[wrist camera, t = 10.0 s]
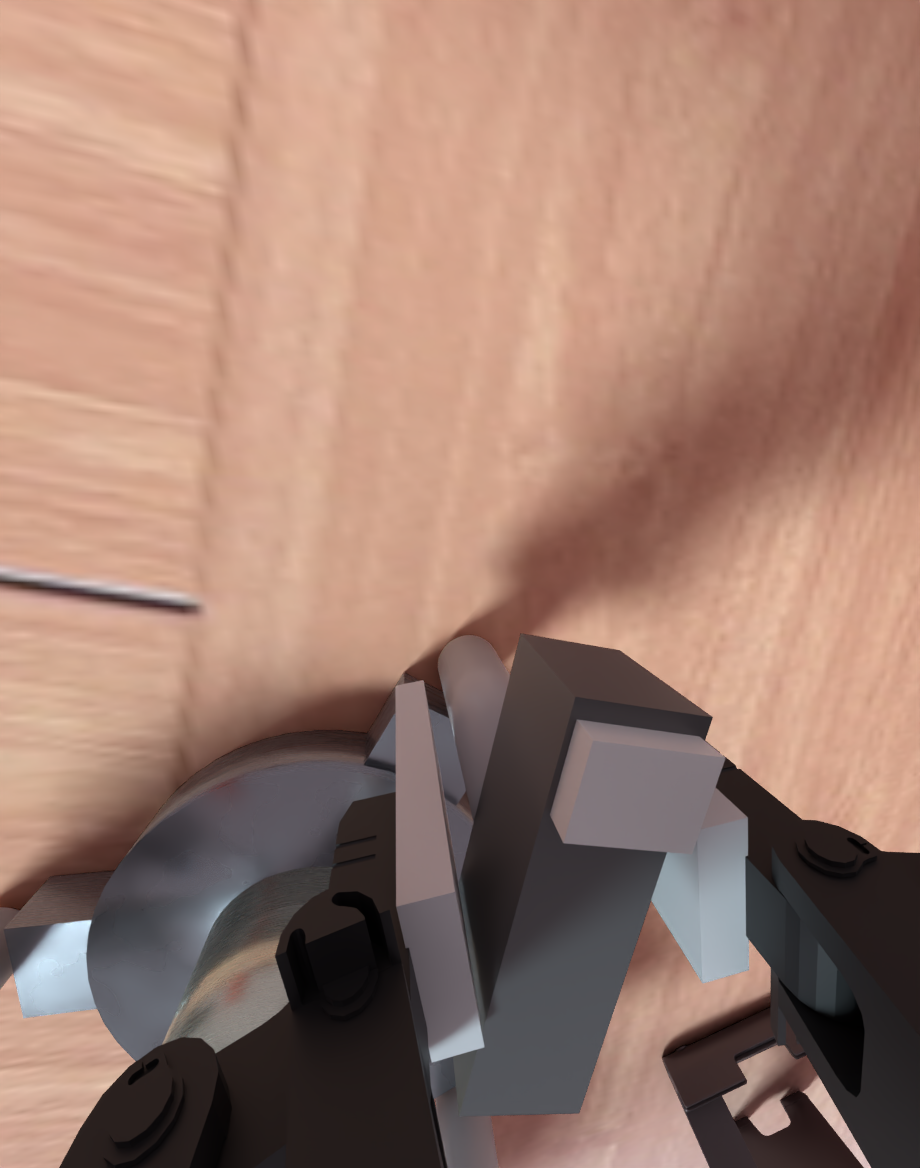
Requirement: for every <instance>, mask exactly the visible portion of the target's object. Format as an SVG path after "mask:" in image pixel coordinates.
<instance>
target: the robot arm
mask: <svg viewBox="0 0 920 1168" xmlns="http://www.w3.org/2000/svg"><path fill="white" fill-rule="evenodd" d="M395 697H396V792H392V793H388V794H384V795H379V796H375V797H370V798H366V799H362V800H357V801H353V802H352V804H351V805H350V807H349V808H348V810H347V811H346V813H345V814H344V816H343V818H342V819H341V821H340V822H339V828H338V834H337V840H336V849H335V852H334V858H333V869H332V870H331V876H330V882H329V888H328V889H327V890H325V891H323V892H321V893H320V894H318V895H316V896H314V897H312V898H311V899H310V900H309V901H308V902H307V903H306V904H305V905H303V906H302V907H301V908H300V909H299V910H298V911H297V912H296V913H295V914H294V915H293V917H292V918H291V920H290V921H289V923H288V924H287V926H286V927H285V929H284V930H283V932H282V933H281V936H280V939H279V943H278V947H277V950H276V954H275V959H276V962H277V965H278V968H279V971H280V975H281V978H282V981H283V984H284V987H285V991H286V994H287V997H288V1000H289V1002H288V1003H287V1004H286V1005H285V1006H284V1007H283V1008H282V1009H281V1010H280V1011H279V1012H278V1013H277V1014H276V1015H274V1016H273V1017H272V1018H270V1019H269V1020H268V1021H266V1022H265V1023H264V1024H262V1025H261V1026H259V1027H257V1028H256V1029H254V1030H253V1031H251V1032H249V1033H248V1034H246V1035H245V1036H243V1037H241V1038H240V1039H238V1040H236V1041H235V1042H233V1043H232V1044H230V1045H228V1046H227V1047H225V1048H224V1049H222V1050H220V1051H219V1052H217V1053H215V1051H214V1049H213V1048H212V1047H211V1046H209V1045H208V1044H207V1043H206V1042H205V1041H204V1040H203V1039H202V1038H188V1037H180V1038H178V1039H175V1040H173V1041H170V1042H168V1043H165V1044H163V1045H160V1046H157V1047H156V1048H154V1049H153V1050H151V1051H150V1052H149V1053H147V1054H146V1055H145V1056H143V1057H142V1058H140V1059H139V1060H138V1061H136V1062H135V1063H134V1064H132V1065H131V1066H129V1067H128V1069H127V1070H126V1071H125V1072H124V1073H123V1074H122V1075H121V1076H120V1077H119V1078H118V1079H117V1080H116V1081H115V1082H114V1083H113V1084H112V1085H111V1086H110V1088H109V1089H108V1090H107V1091H106V1092H105V1093H104V1094H103V1095H102V1097H101V1098H100V1100H99V1101H98V1103H97V1104H96V1106H95V1107H94V1109H93V1110H92V1112H91V1113H90V1115H89V1116H88V1118H87V1119H86V1121H85V1122H84V1124H83V1125H82V1127H81V1128H80V1130H79V1132H78V1134H77V1136H76V1138H75V1139H74V1141H73V1143H72V1145H71V1147H70V1149H69V1151H68V1153H67V1154H66V1156H65V1158H64V1160H63V1162H62V1164H61V1166H60V1167H59V1168H448V1166H447V1161H446V1156H445V1151H444V1146H443V1141H442V1136H441V1131H440V1126H439V1121H438V1116H437V1111H436V1107H435V1102H434V1098H433V1094H432V1089H431V1082H430V1065H429V1052H430V1057H431V1061H432V1062H436V1061H439V1060H442V1059H446V1058H449V1057H453V1056H456V1055H460V1054H463V1053H466V1052H470V1051H473V1050H477V1049H480V1048H484V1041H483V1035H482V1029H481V1022H480V1016H479V1010H478V1004H477V997H476V991H475V985H474V979H473V972H472V966H471V960H470V954H469V947H468V941H467V935H466V929H465V922H464V916H463V910H462V904H461V898H460V891H459V885H458V879H457V873H456V866H455V860H454V854H453V848H452V841H451V835H450V829H449V823H448V816H447V810H446V804H445V798H444V791H443V785H442V779H441V773H440V767H439V761H438V756H437V751H436V745H435V740H434V734H433V729H432V724H431V718H430V713H429V707H428V702H427V697H426V691H425V686H424V680H421V681H417V682H412V683H407V684H402V685H397V686H395ZM707 743H708V742H707ZM708 744H709V743H708ZM709 745H710V744H709ZM712 747H713V746H712ZM713 748H714V747H713ZM714 749H715V748H714ZM715 750H716V749H715ZM718 752H719V751H718ZM719 753H720V752H719ZM723 756H724V755H723ZM724 757H725V756H724ZM651 901H652V903H653V904H654V906H655V908H656V909H657V911H658V912H659V914H660V916H661V917H662V919H663V920H664V922H665V924H666V925H667V927H668V928H669V930H670V932H671V933H672V935H673V937H674V938H675V940H676V941H677V943H678V945H679V946H680V948H681V949H682V951H683V953H684V954H685V956H686V958H687V959H688V961H689V962H690V964H691V966H692V967H693V969H694V970H695V972H696V974H697V975H698V977H699V978H700V980H701V982H702V983H706V982H709V981H713V980H716V979H720V978H723V977H727V976H730V975H734V974H737V973H740V972H744V971H747V970H749V940H750V941H751V943H752V944H753V945H754V946H755V948H756V949H757V950H758V952H759V953H760V954H761V955H762V957H763V958H764V959H765V961H766V962H767V963H768V964H769V966H770V967H771V1021H770V1026H771V1029H772V1032H773V1034H774V1037H775V1040H776V1043H777V1045H778V1046H780V1045H786V1020H787V1022H788V1024H789V1025H790V1027H791V1029H792V1031H793V1032H794V1034H795V1039H796V1042H797V1044H801V1046H802V1048H803V1050H804V1051H805V1053H806V1055H807V1057H808V1058H809V1060H810V1062H811V1064H812V1065H813V1067H814V1069H815V1071H816V1072H817V1074H818V1076H819V1077H820V1079H821V1081H822V1083H823V1084H824V1086H825V1088H826V1090H827V1091H828V1093H829V1095H830V1097H831V1098H832V1100H833V1102H834V1104H835V1105H836V1107H837V1109H838V1110H839V1112H840V1114H841V1116H842V1117H843V1119H844V1121H845V1123H846V1124H847V1126H848V1128H849V1130H850V1131H851V1133H852V1135H853V1137H854V1138H855V1140H856V1142H857V1143H858V1145H859V1147H860V1149H861V1150H862V1152H863V1154H864V1156H865V1157H866V1159H867V1161H868V1163H869V1164H870V1166H871V1168H920V853H904V852H885V851H880V850H879V849H878V848H876V847H875V846H874V845H872V844H871V843H869V842H868V841H867V840H865V839H864V838H862V837H861V836H859V835H857V834H855V833H852V832H850V831H848V830H846V829H844V828H841V827H839V826H836V825H832V824H828V823H824V822H820V821H816V820H802V819H801V818H800V817H798V816H797V815H796V814H795V813H793V812H792V811H791V810H790V809H789V808H787V807H786V806H785V805H784V804H782V803H781V802H780V801H779V800H778V799H776V798H775V797H774V796H773V795H771V794H770V793H769V792H768V791H766V790H765V789H764V788H763V787H762V786H760V785H759V784H758V783H757V782H755V781H754V780H753V779H752V778H751V777H749V776H748V775H747V774H746V773H744V772H743V771H742V770H741V769H737V768H736V765H735V764H733V763H732V762H731V761H730V760H728V759H727V758H726V757H725V761H724V764H723V767H722V770H721V773H720V775H719V778H718V781H717V784H716V787H715V790H714V793H713V796H712V798H711V801H710V804H709V807H708V810H707V813H706V816H705V818H704V821H703V824H702V827H701V830H700V833H699V836H698V839H697V841H696V844H695V847H694V850H693V853H692V854H681V853H669V852H667V854H666V857H665V860H664V863H663V866H662V869H661V872H660V875H659V878H658V881H657V884H656V887H655V890H654V893H653V896H652V899H651ZM428 1048H429V1049H428Z"/></svg>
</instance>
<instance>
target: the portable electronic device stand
mask: <svg viewBox="0 0 920 1168" xmlns="http://www.w3.org/2000/svg"><path fill="white" fill-rule="evenodd" d="M770 1021H771V1007H770V1008H768V1009H766V1010H764V1011H761V1012H759V1013H757V1014H755V1015H753V1016H751V1017H749V1018H746V1019H744V1020H742V1021H740V1022H738V1023H736V1024H734V1025H732V1026H729V1027H727V1028H725V1029H723V1030H721V1031H719V1032H717V1033H715V1034H712V1035H710V1036H708V1037H706V1038H704V1039H702V1040H700V1041H697V1042H695V1043H693V1044H691V1045H689V1046H687V1045H684V1046H682V1047H680V1048H678V1049H676V1050H675V1052H674V1053H672V1054H670V1055H668V1056H665V1057H663V1058H662V1060H663V1063H664V1065H665V1068H666V1070H667V1073H668V1075H669V1078H670V1080H671V1082H672V1084H673V1087H674V1089H675V1091H676V1093H677V1096H678V1098H679V1100H680V1102H681V1105H682V1107H683V1109H684V1111H685V1114H686V1116H687V1118H688V1120H689V1123H690V1125H691V1127H692V1129H693V1132H694V1134H695V1136H696V1138H697V1141H698V1143H699V1145H700V1147H701V1150H702V1152H703V1154H704V1156H705V1158H706V1161H707V1163H708V1165H709V1167H710V1168H864V1167H863V1166H862V1165H861V1164H860V1162H859V1161H858V1160H857V1159H856V1157H855V1156H854V1155H853V1153H852V1152H851V1151H850V1150H849V1148H848V1147H847V1146H846V1145H845V1143H844V1142H843V1141H842V1140H841V1138H840V1137H839V1136H838V1135H837V1133H836V1132H835V1131H834V1129H833V1128H832V1127H831V1126H830V1124H829V1123H828V1122H827V1121H826V1119H825V1118H824V1117H823V1116H822V1114H821V1113H820V1112H819V1111H818V1109H817V1108H816V1107H815V1106H814V1104H813V1103H812V1102H811V1101H810V1099H809V1098H808V1096H807V1095H806V1094H805V1093H803V1092H800V1091H798V1092H796V1093H794V1094H792V1095H790V1096H788V1097H786V1098H783V1099H781V1100H780V1101H781V1104H782V1105H783V1107H784V1109H785V1111H786V1113H787V1115H788V1117H789V1119H790V1121H791V1123H790V1125H789V1126H788V1127H786V1128H784V1129H782V1130H780V1131H778V1132H776V1133H774V1134H772V1135H770V1136H764V1135H763V1134H761V1133H760V1132H759V1131H758V1129H757V1128H756V1127H755V1126H754V1125H753V1124H752V1122H751V1121H750V1120H749V1119H748V1117H747V1116H746V1117H744V1118H742V1119H740V1120H738V1121H736V1122H735V1121H734V1119H733V1117H732V1115H731V1113H730V1111H729V1109H728V1107H727V1105H726V1103H725V1101H724V1099H723V1097H722V1095H724V1094H726V1093H728V1092H730V1091H732V1090H734V1089H736V1088H739V1087H741V1086H743V1085H745V1084H746V1083H747V1080H746V1078H745V1076H744V1075H743V1073H742V1071H741V1069H740V1068H739V1066H738V1064H737V1063H739V1062H742V1061H744V1060H746V1059H748V1058H750V1057H752V1056H754V1055H756V1054H758V1053H761V1052H763V1051H765V1050H767V1049H769V1048H771V1047H773V1046H775V1045H777V1043H776V1040H775V1037H774V1034H773V1032H772V1029H771V1026H770ZM785 1046H786V1048H787V1049H788V1051H789V1052H790V1053H791V1055H792V1056H793V1057H794V1058H795V1059H799V1058H801V1057H803V1056H805V1055H806V1053H805V1051H804V1050H803V1048H802V1046H801V1044H797V1042H796V1039H795V1034H794V1032H793V1031H792V1029H791V1027H790V1025H789V1024H788V1022H787V1020H786V1045H785Z"/></svg>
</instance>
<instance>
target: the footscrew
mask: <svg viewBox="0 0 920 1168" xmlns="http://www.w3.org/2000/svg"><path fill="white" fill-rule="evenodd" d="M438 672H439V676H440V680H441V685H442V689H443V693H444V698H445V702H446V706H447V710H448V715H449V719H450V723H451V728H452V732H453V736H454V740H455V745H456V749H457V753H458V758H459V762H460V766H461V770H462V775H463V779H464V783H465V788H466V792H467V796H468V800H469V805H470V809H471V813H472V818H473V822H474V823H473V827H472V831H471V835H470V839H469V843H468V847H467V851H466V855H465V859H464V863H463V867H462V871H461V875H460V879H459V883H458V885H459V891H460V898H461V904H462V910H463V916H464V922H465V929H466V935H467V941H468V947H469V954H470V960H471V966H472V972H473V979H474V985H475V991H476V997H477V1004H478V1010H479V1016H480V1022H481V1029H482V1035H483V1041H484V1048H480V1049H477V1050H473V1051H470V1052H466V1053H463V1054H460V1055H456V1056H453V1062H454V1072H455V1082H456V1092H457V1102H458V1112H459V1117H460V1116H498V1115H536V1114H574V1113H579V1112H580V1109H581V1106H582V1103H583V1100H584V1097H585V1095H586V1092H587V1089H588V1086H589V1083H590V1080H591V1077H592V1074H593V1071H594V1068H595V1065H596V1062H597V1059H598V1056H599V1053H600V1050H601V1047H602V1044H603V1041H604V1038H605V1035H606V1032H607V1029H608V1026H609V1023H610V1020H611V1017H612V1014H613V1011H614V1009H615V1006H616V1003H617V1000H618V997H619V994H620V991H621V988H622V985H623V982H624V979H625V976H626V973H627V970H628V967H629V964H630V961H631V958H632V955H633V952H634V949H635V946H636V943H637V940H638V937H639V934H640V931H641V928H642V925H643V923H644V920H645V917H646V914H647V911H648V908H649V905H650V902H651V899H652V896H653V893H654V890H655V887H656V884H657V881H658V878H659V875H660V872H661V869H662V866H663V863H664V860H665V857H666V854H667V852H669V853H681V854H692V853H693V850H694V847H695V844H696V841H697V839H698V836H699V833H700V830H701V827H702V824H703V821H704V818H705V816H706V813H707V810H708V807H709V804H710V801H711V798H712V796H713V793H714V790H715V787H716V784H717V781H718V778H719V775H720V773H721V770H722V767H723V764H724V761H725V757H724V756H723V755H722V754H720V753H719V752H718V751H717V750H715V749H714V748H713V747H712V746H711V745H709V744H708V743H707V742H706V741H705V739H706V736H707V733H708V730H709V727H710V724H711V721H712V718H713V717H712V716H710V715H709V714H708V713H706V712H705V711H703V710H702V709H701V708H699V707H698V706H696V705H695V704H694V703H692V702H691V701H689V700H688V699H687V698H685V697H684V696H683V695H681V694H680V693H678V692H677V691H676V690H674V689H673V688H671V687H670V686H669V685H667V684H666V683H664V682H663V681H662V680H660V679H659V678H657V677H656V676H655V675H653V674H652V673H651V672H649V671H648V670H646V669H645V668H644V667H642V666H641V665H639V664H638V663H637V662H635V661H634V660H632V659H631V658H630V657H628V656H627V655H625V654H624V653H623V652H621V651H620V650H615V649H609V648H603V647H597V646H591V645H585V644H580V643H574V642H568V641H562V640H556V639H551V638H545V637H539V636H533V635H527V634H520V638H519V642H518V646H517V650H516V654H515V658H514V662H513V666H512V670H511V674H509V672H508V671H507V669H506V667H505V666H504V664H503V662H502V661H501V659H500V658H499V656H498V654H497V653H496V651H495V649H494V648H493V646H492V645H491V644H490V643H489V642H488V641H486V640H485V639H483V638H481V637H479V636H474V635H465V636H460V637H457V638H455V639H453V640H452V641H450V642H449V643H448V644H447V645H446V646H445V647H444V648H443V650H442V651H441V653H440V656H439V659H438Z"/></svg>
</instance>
